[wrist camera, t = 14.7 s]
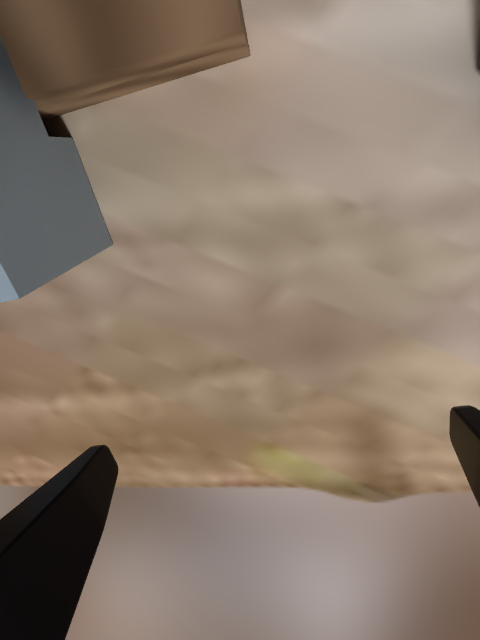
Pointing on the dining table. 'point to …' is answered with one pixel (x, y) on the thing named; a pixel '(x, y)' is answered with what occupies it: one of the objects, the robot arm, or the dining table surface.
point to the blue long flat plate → (40, 197)
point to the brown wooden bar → (114, 46)
